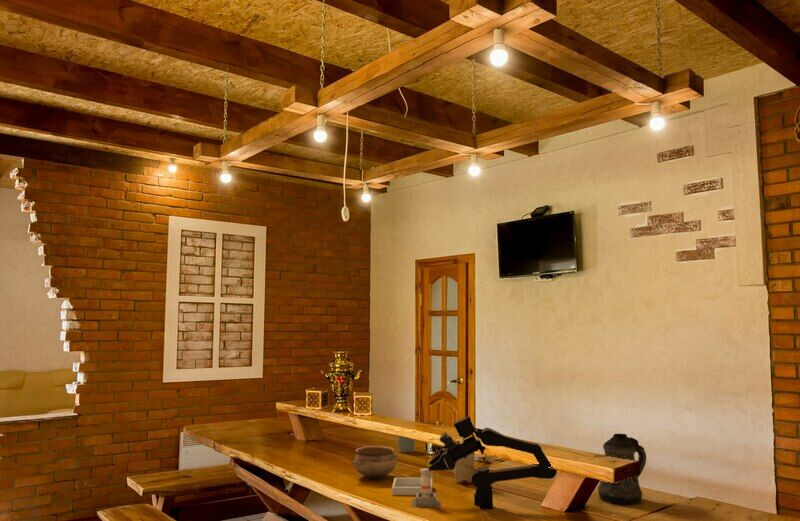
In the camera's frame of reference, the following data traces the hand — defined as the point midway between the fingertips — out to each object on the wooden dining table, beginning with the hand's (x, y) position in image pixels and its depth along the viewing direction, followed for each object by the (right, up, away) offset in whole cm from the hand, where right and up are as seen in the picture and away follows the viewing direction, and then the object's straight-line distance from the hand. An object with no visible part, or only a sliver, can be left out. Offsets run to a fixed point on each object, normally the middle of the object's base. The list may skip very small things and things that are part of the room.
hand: (429, 466), depth 239 cm
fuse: (-1, -14, -1) cm, 14 cm away
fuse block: (-1, -15, -1) cm, 15 cm away
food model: (+17, -18, +31) cm, 40 cm away
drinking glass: (-8, -24, +98) cm, 101 cm away
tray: (-6, -16, +18) cm, 25 cm away
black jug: (+77, -15, +7) cm, 78 cm away
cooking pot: (-22, -19, +42) cm, 51 cm away
